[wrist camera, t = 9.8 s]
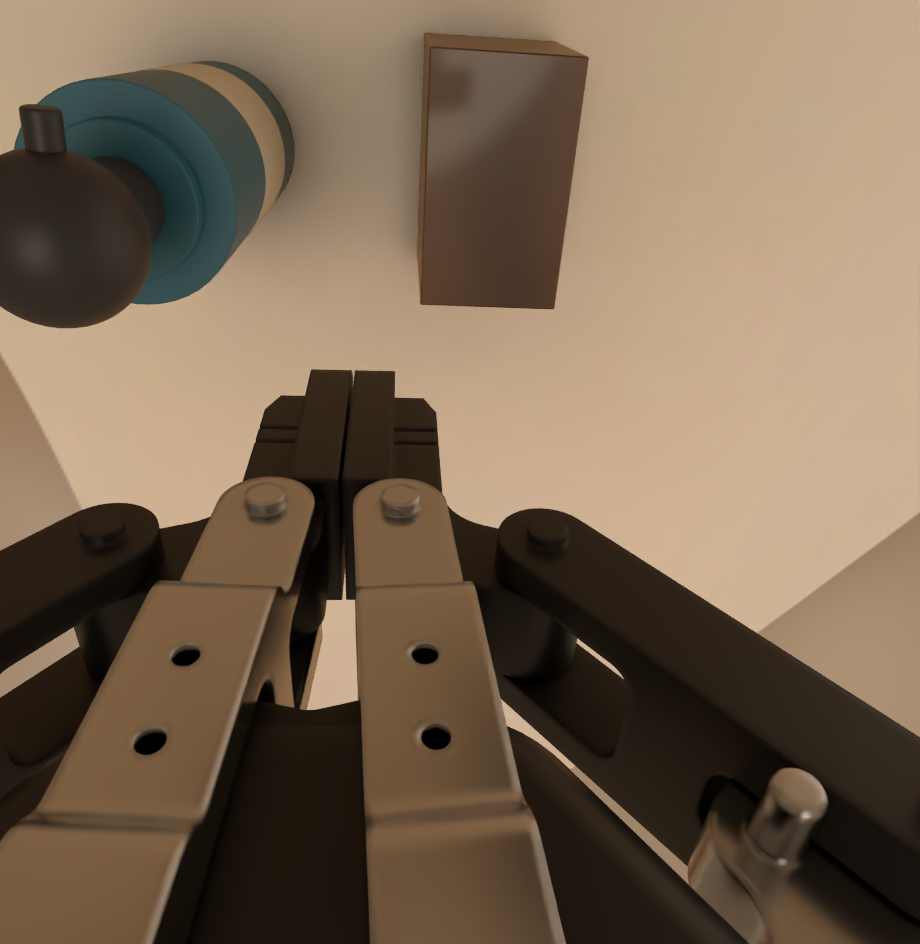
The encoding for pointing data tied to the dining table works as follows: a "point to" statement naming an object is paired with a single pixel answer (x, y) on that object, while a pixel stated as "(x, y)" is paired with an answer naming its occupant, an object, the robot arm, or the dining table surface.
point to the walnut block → (496, 168)
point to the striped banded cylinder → (135, 189)
